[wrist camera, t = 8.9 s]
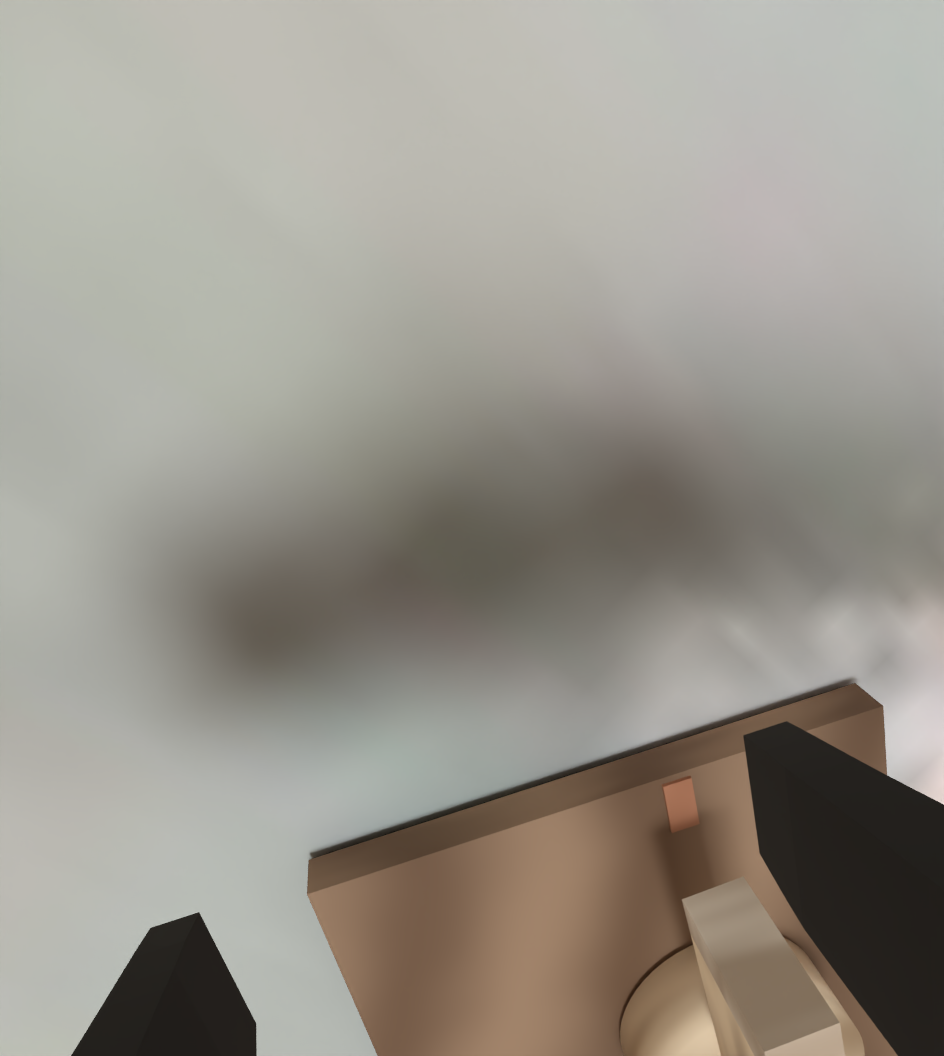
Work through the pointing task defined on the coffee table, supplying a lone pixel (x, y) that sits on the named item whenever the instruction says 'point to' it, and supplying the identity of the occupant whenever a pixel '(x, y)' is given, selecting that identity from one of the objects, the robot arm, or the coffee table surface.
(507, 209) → the coffee table surface
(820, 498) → the coffee table surface
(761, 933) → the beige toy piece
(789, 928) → the plate
